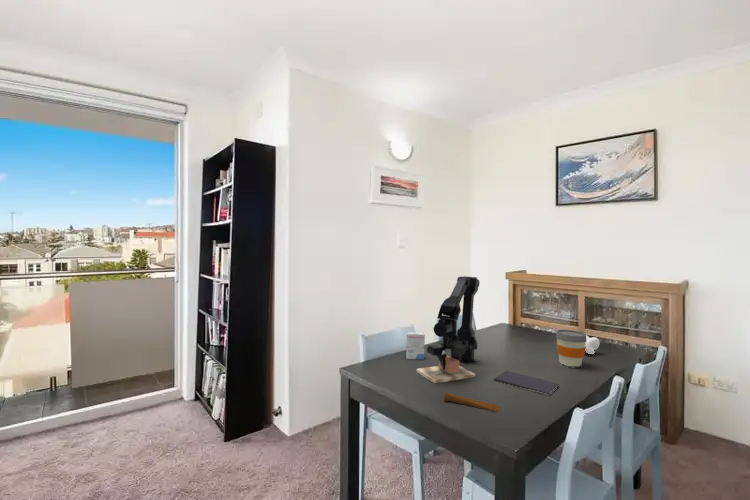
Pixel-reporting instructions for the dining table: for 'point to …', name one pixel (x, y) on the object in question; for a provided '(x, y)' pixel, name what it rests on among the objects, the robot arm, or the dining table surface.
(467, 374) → the board
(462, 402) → the primitive tool
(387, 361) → the dining table surface
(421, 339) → the ink box
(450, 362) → the block
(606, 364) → the dining table surface
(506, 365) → the dining table surface
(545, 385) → the notebook
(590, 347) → the white rounded figurine
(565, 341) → the reusable coffee cup
